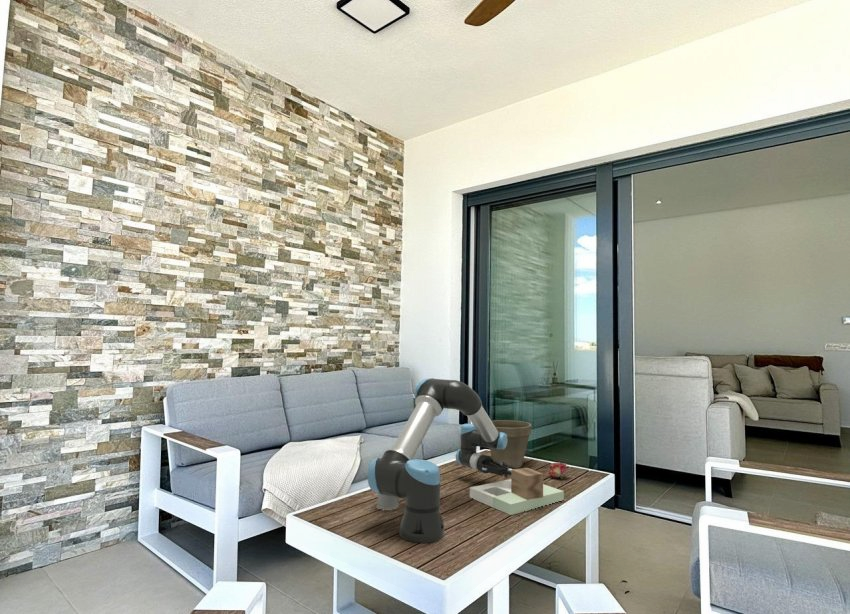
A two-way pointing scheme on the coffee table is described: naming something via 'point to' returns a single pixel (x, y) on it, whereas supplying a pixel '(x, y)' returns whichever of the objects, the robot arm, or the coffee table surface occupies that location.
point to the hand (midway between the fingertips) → (520, 475)
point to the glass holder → (387, 502)
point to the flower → (558, 470)
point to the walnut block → (527, 483)
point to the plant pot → (512, 442)
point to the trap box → (512, 497)
